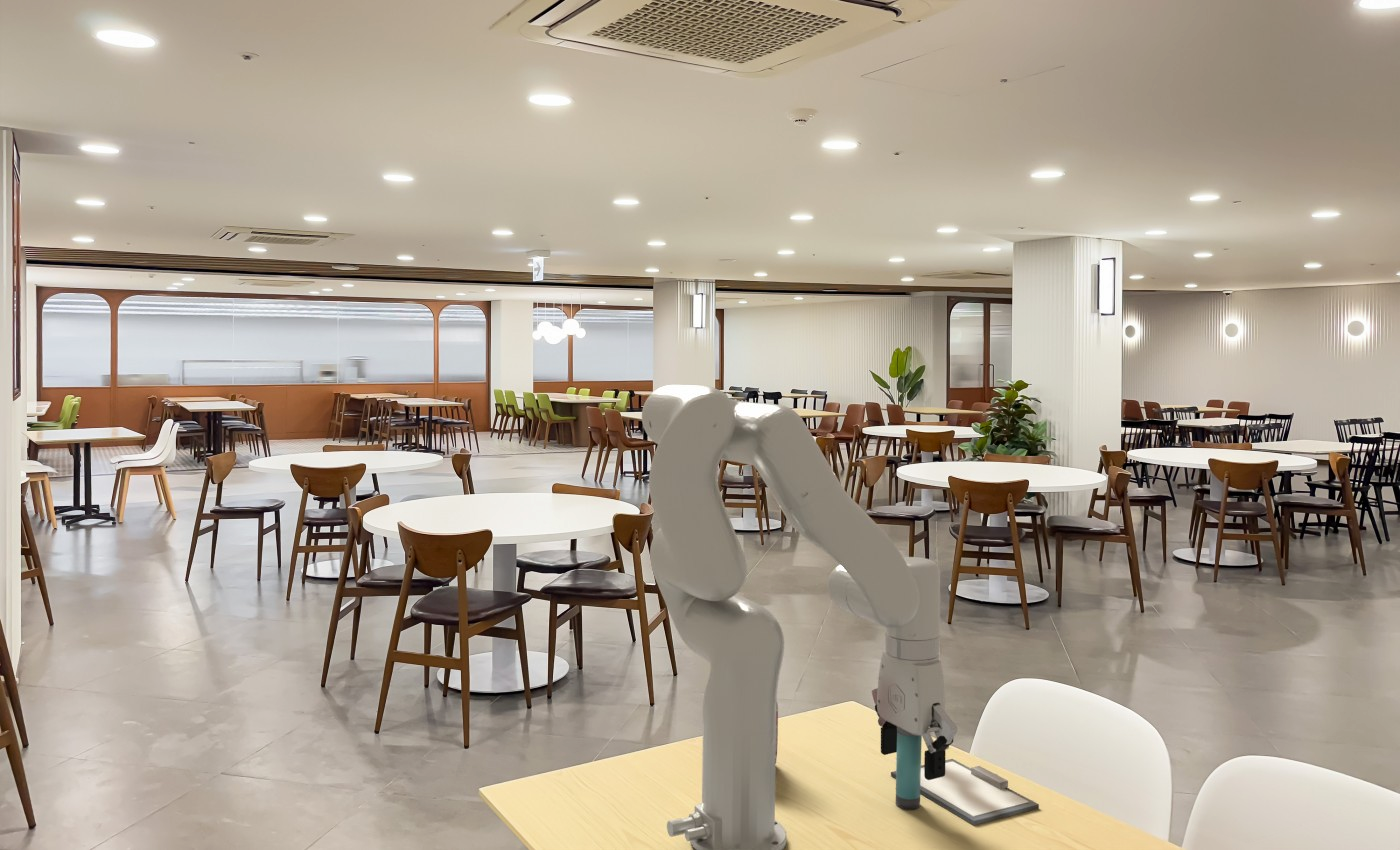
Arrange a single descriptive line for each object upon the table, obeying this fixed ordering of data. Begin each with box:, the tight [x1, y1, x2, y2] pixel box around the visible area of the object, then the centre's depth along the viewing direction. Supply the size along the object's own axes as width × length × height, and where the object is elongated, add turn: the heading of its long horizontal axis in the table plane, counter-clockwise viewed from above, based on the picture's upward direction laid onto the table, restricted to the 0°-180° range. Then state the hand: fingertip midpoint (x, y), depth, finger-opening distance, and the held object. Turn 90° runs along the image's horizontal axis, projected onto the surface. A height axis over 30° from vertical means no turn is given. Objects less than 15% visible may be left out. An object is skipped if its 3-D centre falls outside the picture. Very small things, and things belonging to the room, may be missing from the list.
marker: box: [895, 727, 923, 811], centre depth 139 cm, size 4×4×12 cm
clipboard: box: [890, 758, 1040, 826], centre depth 144 cm, size 12×18×2 cm, turn 27°
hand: (912, 764), depth 140 cm, fingers open, 9 cm apart
